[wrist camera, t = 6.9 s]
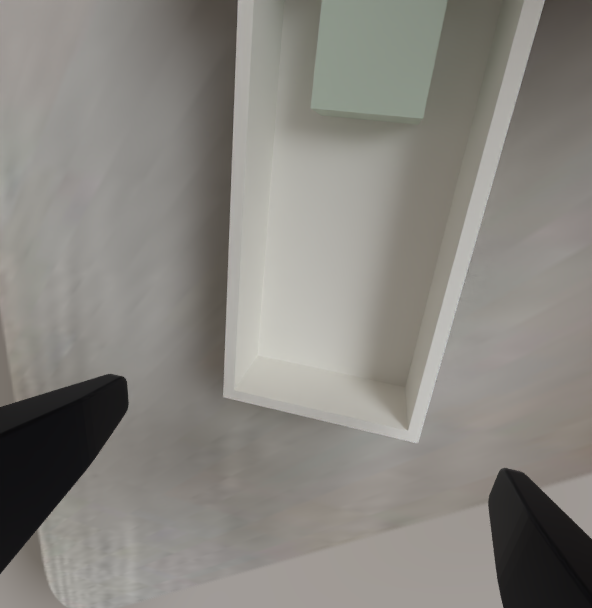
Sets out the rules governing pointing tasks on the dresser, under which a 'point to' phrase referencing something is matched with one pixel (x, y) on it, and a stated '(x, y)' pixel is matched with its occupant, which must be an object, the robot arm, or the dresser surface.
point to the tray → (358, 217)
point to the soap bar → (376, 58)
